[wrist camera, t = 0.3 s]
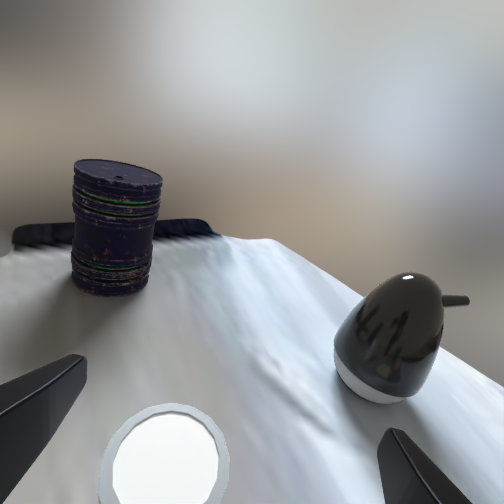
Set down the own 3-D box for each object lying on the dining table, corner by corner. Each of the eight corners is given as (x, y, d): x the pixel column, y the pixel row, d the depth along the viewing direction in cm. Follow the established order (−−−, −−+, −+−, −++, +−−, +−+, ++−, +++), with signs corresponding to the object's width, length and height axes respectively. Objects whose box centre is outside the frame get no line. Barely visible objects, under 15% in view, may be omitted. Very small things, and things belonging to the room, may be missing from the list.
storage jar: (78, 256, 42) (82, 153, 36) (149, 262, 46) (162, 170, 40) (62, 296, 34) (62, 172, 28) (149, 299, 38) (165, 190, 32)
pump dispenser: (421, 433, 30) (510, 321, 24) (327, 403, 31) (392, 284, 25) (391, 363, 40) (450, 270, 34) (319, 340, 40) (365, 243, 34)
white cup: (180, 629, 15) (208, 570, 12) (61, 578, 15) (61, 510, 13) (218, 484, 21) (242, 423, 18) (133, 450, 22) (143, 386, 19)
